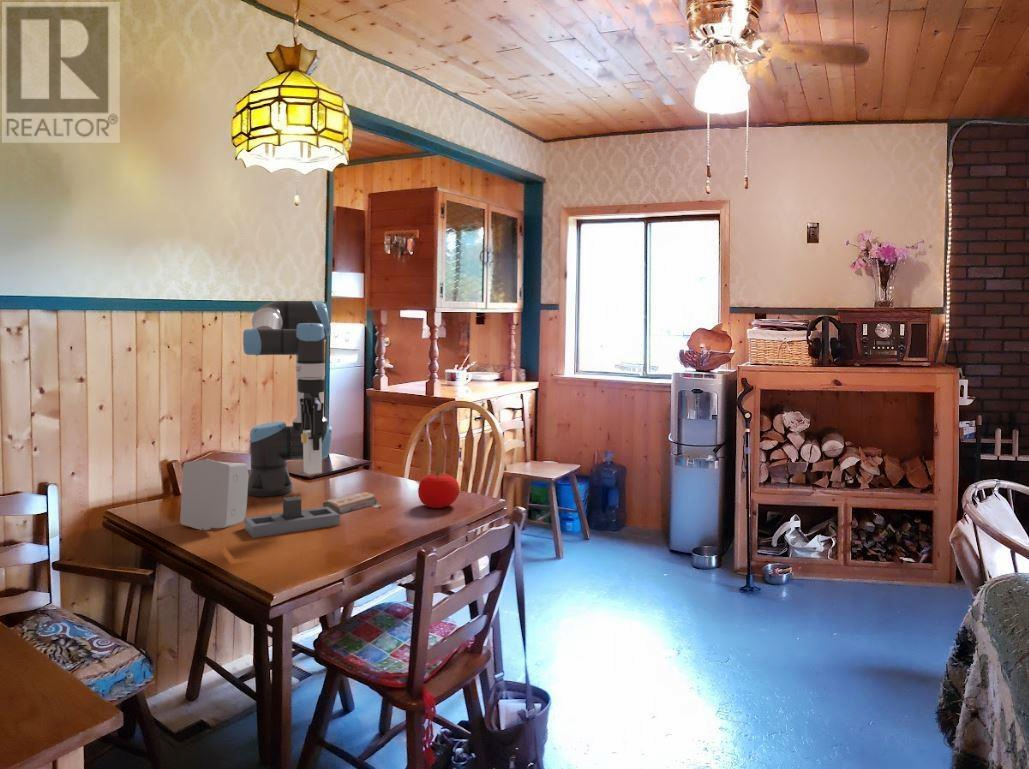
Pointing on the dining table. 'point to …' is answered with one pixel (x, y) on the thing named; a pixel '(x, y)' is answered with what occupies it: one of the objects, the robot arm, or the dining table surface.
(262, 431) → the robot arm
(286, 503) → the dark grey block
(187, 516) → the electrical switch box
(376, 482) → the dining table surface
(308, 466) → the plug
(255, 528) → the socket strip
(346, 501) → the packaged product
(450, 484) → the tomato
